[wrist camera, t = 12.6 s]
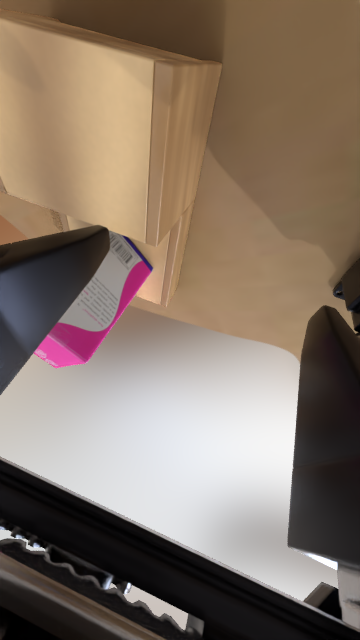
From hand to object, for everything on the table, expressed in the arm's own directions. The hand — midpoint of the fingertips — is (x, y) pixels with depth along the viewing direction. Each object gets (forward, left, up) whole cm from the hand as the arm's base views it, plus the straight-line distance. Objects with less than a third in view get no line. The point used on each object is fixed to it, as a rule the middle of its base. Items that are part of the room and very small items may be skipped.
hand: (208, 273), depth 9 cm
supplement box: (+10, +9, -10) cm, 17 cm away
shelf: (+10, +4, -13) cm, 17 cm away
